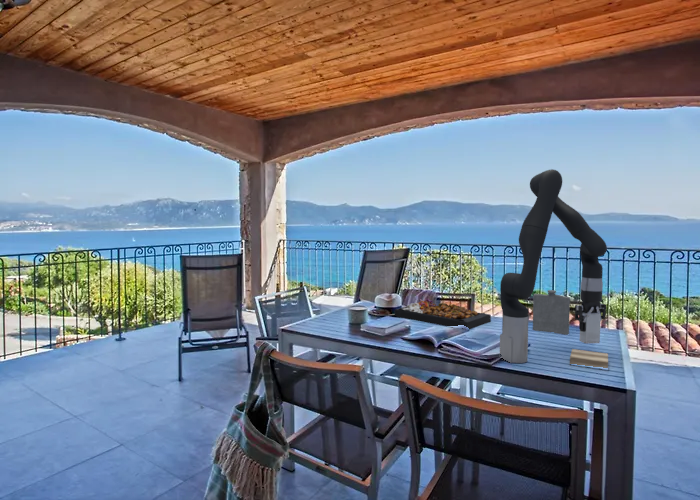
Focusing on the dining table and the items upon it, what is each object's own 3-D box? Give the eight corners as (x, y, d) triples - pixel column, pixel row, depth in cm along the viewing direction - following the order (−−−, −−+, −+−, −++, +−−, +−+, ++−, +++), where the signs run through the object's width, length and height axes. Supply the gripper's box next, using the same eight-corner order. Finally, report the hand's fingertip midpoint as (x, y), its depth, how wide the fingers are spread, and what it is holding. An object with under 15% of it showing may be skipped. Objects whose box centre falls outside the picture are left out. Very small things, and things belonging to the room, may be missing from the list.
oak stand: (607, 370, 151) (608, 362, 151) (569, 365, 157) (570, 357, 157) (607, 361, 161) (607, 353, 161) (571, 356, 168) (572, 348, 167)
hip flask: (531, 330, 208) (532, 289, 207) (533, 328, 212) (534, 288, 210) (568, 335, 199) (569, 292, 198) (569, 333, 202) (570, 291, 201)
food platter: (394, 317, 240) (394, 299, 239) (420, 310, 258) (420, 293, 257) (467, 331, 209) (467, 310, 208) (490, 322, 226) (490, 303, 226)
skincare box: (592, 340, 173) (594, 311, 172) (600, 344, 168) (601, 313, 168) (578, 341, 172) (579, 311, 172) (585, 344, 168) (586, 313, 167)
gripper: (597, 287, 175) (595, 327, 176) (569, 288, 170) (567, 329, 171) (613, 289, 168) (611, 331, 169) (585, 291, 163) (583, 334, 164)
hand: (589, 330), depth 170 cm, fingers closed on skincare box, 6 cm apart
